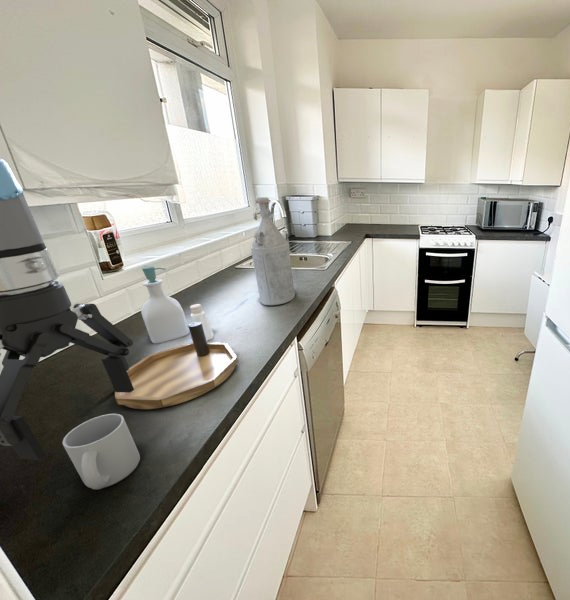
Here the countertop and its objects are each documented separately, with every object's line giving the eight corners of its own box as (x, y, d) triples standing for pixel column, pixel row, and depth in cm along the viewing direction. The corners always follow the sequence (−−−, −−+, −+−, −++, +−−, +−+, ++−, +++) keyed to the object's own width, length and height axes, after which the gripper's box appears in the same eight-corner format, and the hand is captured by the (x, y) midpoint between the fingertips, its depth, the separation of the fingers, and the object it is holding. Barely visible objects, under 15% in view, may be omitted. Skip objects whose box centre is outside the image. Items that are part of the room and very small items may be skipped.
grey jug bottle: (253, 307, 118) (230, 198, 104) (271, 292, 134) (254, 195, 120) (286, 307, 118) (268, 197, 103) (300, 291, 134) (287, 194, 119)
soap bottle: (192, 337, 97) (171, 266, 88) (154, 348, 91) (127, 273, 82) (185, 327, 103) (165, 260, 95) (149, 337, 97) (124, 267, 89)
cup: (145, 447, 57) (128, 408, 54) (131, 492, 49) (111, 449, 46) (93, 463, 54) (73, 422, 51) (70, 514, 46) (44, 470, 43)
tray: (88, 407, 67) (69, 367, 63) (172, 349, 89) (161, 317, 85) (195, 411, 65) (182, 370, 61) (253, 351, 87) (246, 319, 84)
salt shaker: (218, 334, 99) (209, 302, 95) (207, 342, 94) (198, 309, 90) (201, 334, 99) (192, 301, 95) (190, 342, 94) (180, 309, 90)
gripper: (-112, 333, 28) (5, 499, 35) (132, 262, 51) (170, 372, 58) (-185, 332, 28) (-54, 496, 36) (89, 262, 51) (133, 371, 59)
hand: (85, 419), depth 47 cm, fingers open, 13 cm apart
